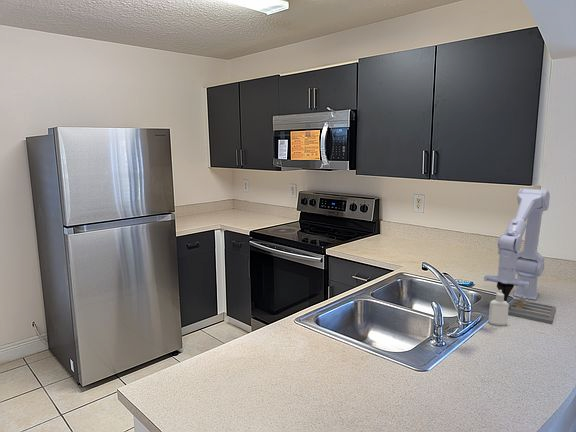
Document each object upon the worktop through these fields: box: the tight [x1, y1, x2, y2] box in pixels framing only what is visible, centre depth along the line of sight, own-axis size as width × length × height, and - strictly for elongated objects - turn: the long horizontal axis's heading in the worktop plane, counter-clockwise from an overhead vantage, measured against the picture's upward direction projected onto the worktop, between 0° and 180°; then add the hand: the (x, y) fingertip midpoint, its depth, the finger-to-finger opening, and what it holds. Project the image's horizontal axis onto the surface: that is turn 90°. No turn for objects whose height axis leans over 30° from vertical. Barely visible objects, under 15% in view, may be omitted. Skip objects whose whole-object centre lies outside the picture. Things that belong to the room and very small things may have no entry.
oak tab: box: [516, 300, 523, 309], centre depth 148 cm, size 2×2×3 cm
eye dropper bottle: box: [488, 290, 510, 326], centre depth 139 cm, size 4×6×12 cm
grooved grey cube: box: [518, 295, 527, 303], centre depth 154 cm, size 2×2×3 cm
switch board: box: [508, 298, 557, 325], centre depth 149 cm, size 16×14×2 cm
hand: (503, 302), depth 151 cm, fingers closed
